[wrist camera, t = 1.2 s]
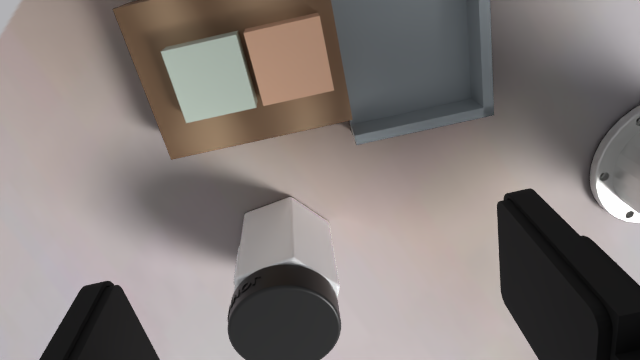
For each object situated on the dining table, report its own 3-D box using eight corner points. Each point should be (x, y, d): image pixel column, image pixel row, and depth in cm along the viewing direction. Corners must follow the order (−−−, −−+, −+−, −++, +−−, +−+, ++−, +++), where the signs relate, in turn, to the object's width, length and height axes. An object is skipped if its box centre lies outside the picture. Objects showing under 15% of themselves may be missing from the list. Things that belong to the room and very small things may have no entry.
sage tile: (238, 30, 31) (236, 34, 30) (257, 100, 34) (256, 107, 32) (166, 46, 32) (160, 51, 30) (190, 115, 34) (186, 123, 32)
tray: (468, -117, 32) (486, -123, 29) (479, 103, 39) (493, 115, 37) (312, -81, 32) (314, -83, 30) (351, 131, 40) (356, 145, 37)
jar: (244, 190, 41) (231, 276, 31) (334, 200, 43) (352, 286, 32) (236, 271, 45) (221, 372, 35) (318, 278, 46) (329, 378, 36)
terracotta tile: (317, 12, 31) (319, 15, 30) (332, 84, 34) (334, 90, 32) (245, 28, 31) (243, 32, 30) (264, 99, 34) (263, 106, 32)
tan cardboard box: (319, -42, 33) (323, -40, 30) (346, 103, 38) (352, 119, 35) (130, 2, 34) (112, 9, 30) (181, 139, 39) (171, 159, 35)
